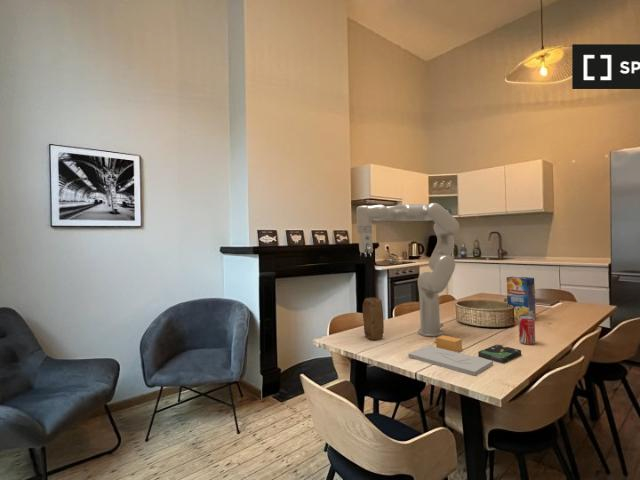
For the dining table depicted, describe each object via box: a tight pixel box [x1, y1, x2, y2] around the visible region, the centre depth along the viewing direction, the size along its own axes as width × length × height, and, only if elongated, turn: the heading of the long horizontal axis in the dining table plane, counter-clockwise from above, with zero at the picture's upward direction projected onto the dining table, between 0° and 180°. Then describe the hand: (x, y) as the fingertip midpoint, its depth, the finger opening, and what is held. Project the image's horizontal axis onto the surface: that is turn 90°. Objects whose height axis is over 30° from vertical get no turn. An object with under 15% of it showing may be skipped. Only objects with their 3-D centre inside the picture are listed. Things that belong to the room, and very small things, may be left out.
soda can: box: [518, 316, 536, 346], centre depth 155 cm, size 6×6×12 cm
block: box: [362, 296, 385, 341], centre depth 172 cm, size 11×8×20 cm
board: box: [407, 344, 494, 377], centre depth 137 cm, size 15×28×2 cm, turn 41°
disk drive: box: [477, 344, 522, 364], centre depth 140 cm, size 10×3×15 cm
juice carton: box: [506, 275, 537, 321], centre depth 199 cm, size 12×8×24 cm, turn 30°
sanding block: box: [435, 334, 463, 353], centre depth 151 cm, size 6×9×5 cm, turn 40°
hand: (365, 264), depth 172 cm, fingers open, 9 cm apart
